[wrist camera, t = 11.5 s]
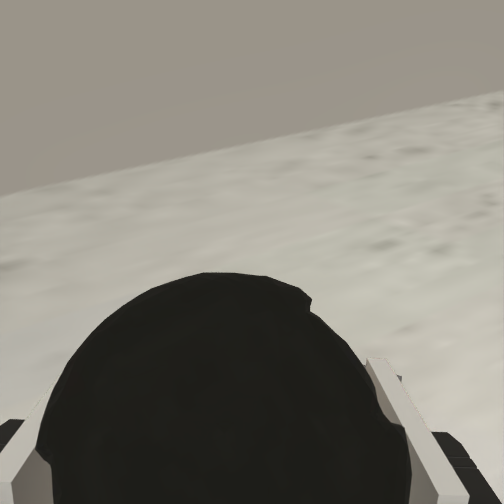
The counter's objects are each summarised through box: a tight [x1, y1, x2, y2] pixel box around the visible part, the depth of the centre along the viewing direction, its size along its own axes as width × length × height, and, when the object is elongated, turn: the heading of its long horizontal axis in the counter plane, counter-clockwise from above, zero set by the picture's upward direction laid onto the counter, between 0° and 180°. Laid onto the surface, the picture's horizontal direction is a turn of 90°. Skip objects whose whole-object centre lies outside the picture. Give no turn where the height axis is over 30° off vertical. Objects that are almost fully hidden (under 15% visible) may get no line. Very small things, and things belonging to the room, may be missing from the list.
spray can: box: [35, 273, 412, 504], centre depth 16 cm, size 7×7×20 cm
